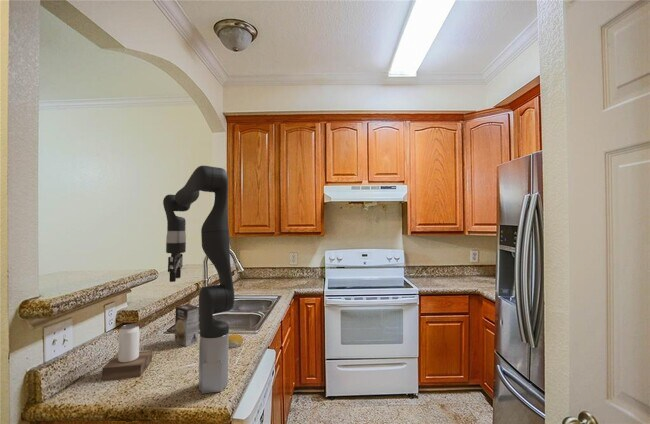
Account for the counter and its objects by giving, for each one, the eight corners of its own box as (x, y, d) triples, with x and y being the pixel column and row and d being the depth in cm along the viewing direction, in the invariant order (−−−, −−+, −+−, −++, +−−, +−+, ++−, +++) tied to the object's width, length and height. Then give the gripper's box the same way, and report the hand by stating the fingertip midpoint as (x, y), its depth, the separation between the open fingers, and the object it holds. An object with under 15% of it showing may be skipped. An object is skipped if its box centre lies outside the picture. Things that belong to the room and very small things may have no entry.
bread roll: (243, 340, 144) (244, 331, 144) (241, 348, 135) (241, 338, 135) (225, 341, 143) (225, 332, 143) (221, 348, 134) (221, 339, 134)
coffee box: (173, 342, 140) (174, 306, 141) (186, 338, 146) (187, 303, 146) (186, 346, 135) (186, 309, 136) (198, 342, 141) (199, 306, 141)
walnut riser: (140, 376, 109) (140, 364, 109) (102, 379, 107) (102, 368, 107) (151, 361, 121) (151, 351, 121) (117, 364, 118) (117, 353, 118)
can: (135, 354, 118) (136, 322, 119) (141, 359, 114) (142, 326, 114) (115, 359, 113) (116, 326, 114) (121, 364, 109) (122, 330, 110)
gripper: (181, 242, 126) (180, 282, 125) (189, 240, 139) (188, 276, 139) (161, 242, 124) (160, 283, 123) (171, 240, 138) (170, 277, 137)
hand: (175, 279), depth 131 cm, fingers open, 8 cm apart
